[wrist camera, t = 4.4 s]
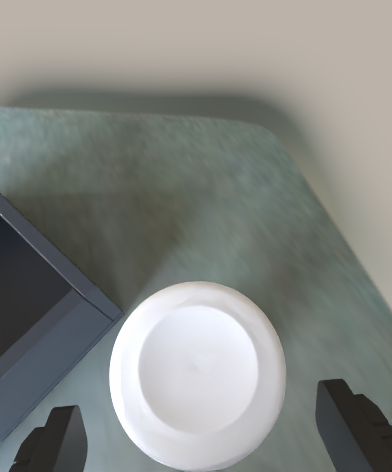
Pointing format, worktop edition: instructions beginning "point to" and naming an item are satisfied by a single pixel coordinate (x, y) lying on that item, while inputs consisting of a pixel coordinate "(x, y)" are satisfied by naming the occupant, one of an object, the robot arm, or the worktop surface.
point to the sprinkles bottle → (197, 376)
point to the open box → (41, 316)
